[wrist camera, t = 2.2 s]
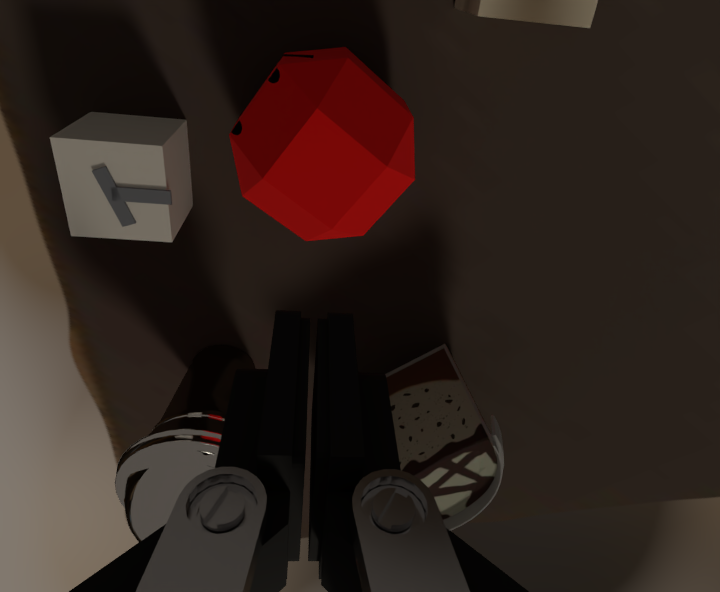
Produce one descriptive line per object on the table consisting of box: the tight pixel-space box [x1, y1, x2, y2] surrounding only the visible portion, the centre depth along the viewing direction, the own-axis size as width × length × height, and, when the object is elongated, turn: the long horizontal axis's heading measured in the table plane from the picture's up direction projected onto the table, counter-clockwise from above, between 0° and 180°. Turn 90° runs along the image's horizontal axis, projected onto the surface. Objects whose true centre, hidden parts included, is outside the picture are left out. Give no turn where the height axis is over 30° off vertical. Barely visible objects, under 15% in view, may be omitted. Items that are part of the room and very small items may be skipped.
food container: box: [385, 344, 504, 531], centre depth 36 cm, size 12×6×10 cm, turn 122°
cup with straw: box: [115, 345, 255, 542], centre depth 30 cm, size 8×9×20 cm
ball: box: [229, 47, 415, 241], centre depth 26 cm, size 8×8×8 cm
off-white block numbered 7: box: [50, 112, 193, 242], centre depth 28 cm, size 5×5×5 cm
